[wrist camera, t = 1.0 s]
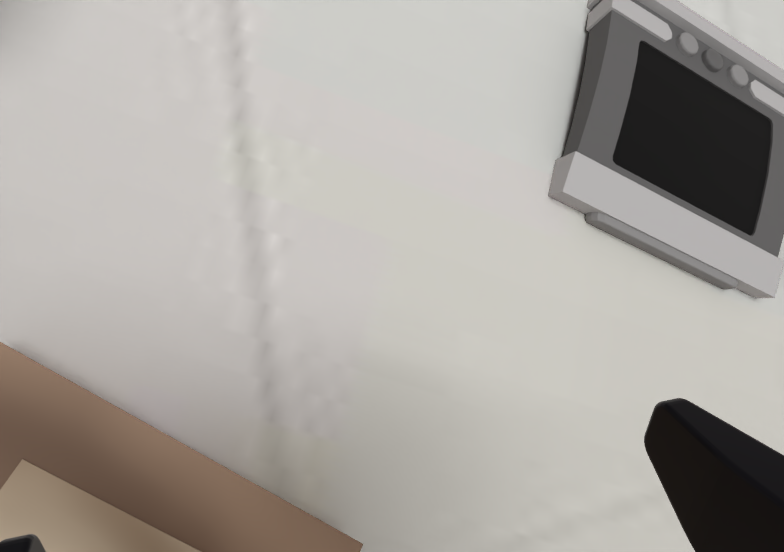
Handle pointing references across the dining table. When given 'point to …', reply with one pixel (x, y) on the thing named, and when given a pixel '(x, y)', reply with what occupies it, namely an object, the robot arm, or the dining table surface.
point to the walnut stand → (127, 480)
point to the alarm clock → (679, 143)
